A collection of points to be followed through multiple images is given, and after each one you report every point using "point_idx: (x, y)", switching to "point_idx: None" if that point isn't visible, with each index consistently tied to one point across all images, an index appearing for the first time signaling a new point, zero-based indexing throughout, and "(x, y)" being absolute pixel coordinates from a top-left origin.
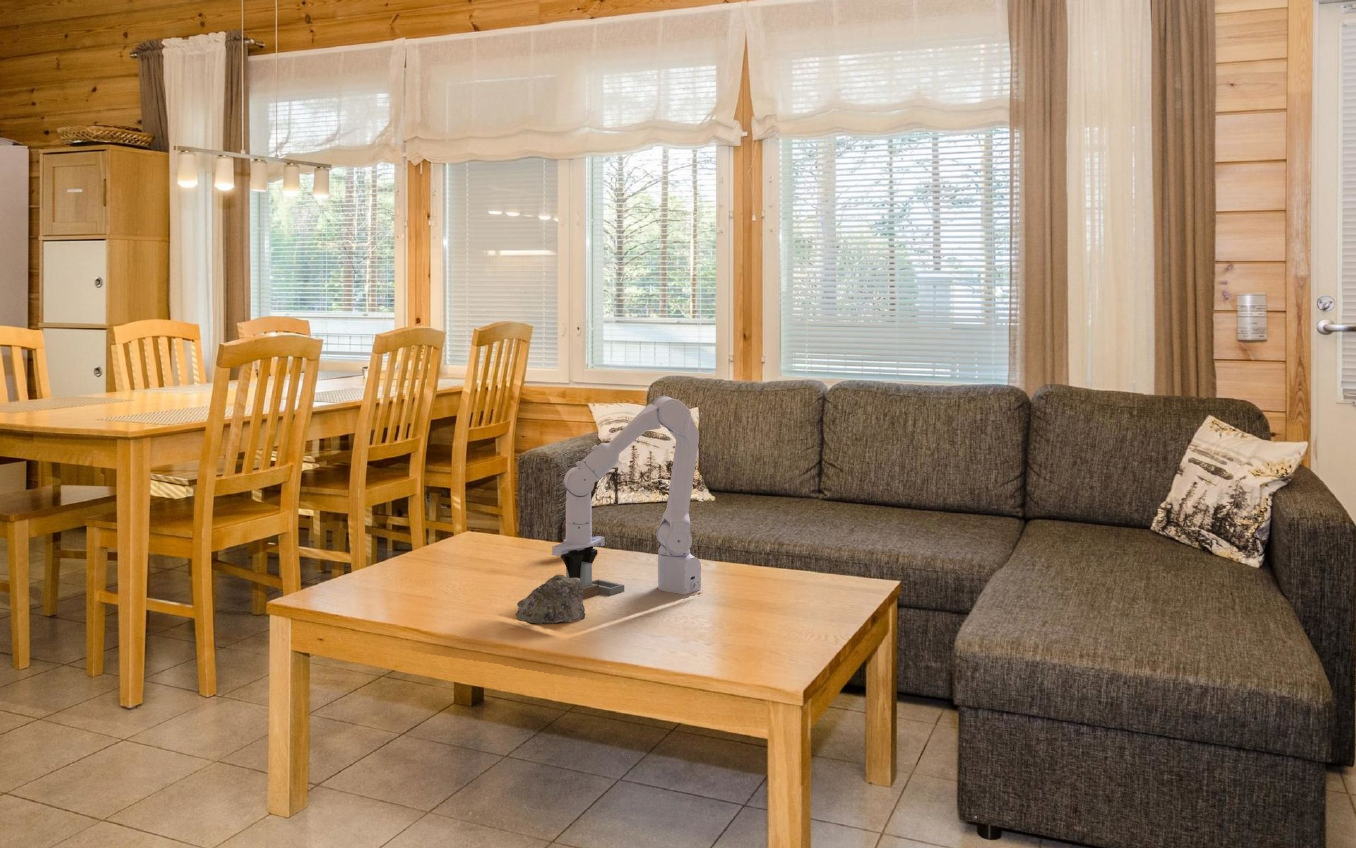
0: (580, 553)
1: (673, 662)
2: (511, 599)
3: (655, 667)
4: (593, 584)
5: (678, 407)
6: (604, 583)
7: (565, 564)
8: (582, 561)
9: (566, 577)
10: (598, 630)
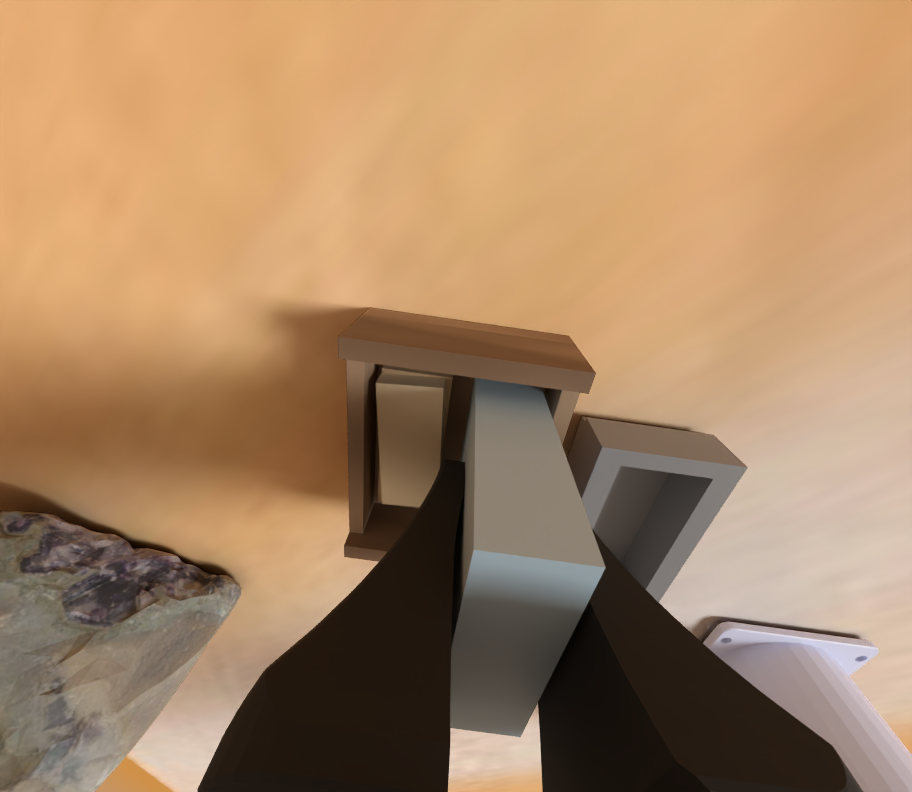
0: (599, 784)
1: (197, 783)
2: (117, 59)
3: (152, 774)
4: (590, 507)
5: None
6: (681, 514)
7: (370, 577)
8: (549, 674)
9: (473, 423)
10: (201, 661)
